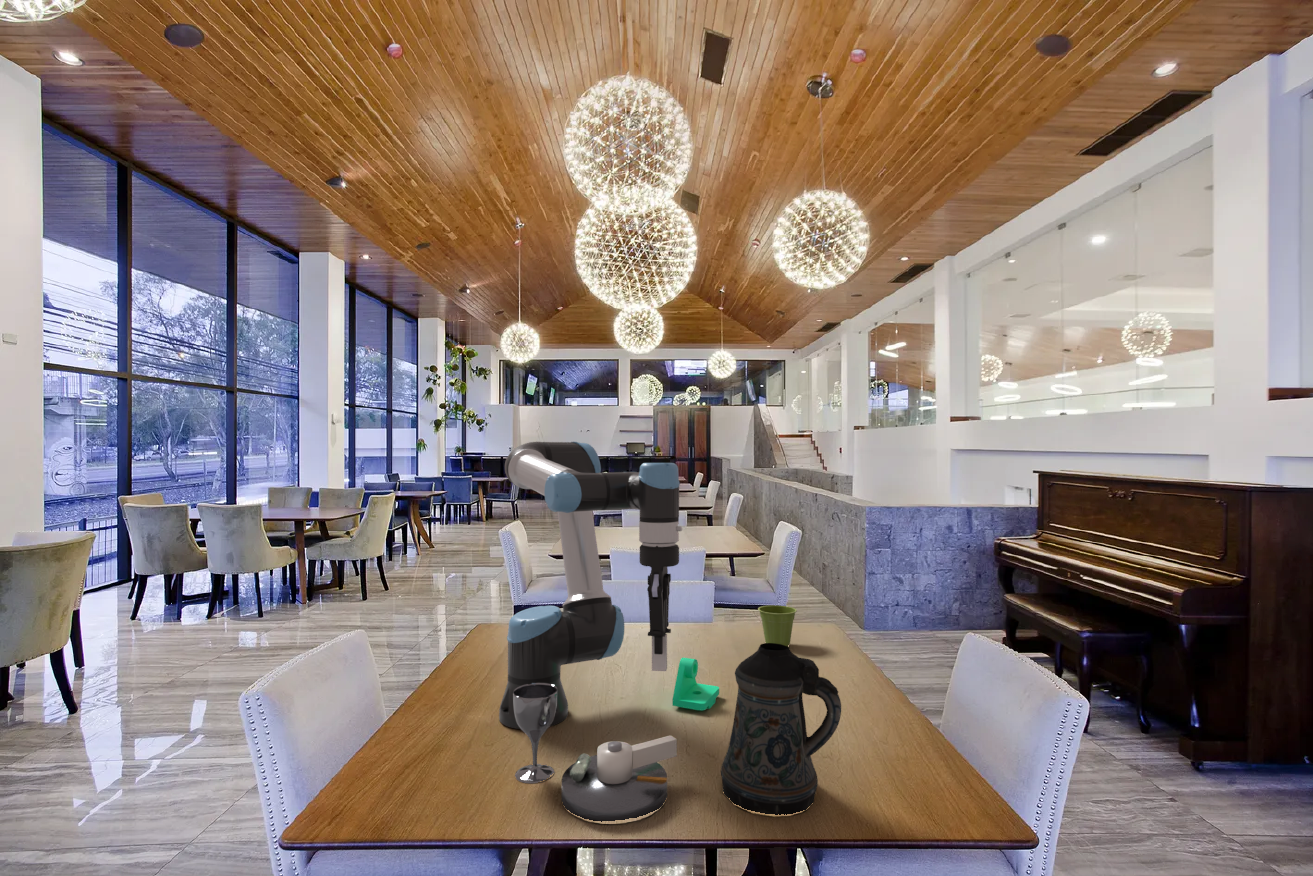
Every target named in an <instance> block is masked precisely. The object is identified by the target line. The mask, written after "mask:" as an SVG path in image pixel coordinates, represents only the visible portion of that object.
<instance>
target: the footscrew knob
mask: <svg viewBox="0 0 1313 876" xmlns="http://www.w3.org/2000/svg"><path fill="white" fill-rule="evenodd" d="M677 740H678V739H677V738H675V737H674V736H672V735H667V736H663V737H660V738H654V739H651V740H648V741H644V742H639V743H636V744H633V745H631V744H630V743H627V742H625V741H618V740H617V741H616V740H615V741H614V740H613V741H607V742H606V741H605V742H604V743H602V744H600V745H598V747H597V750H596V751H597V754H596V755H597V778H598V779H599V780H600V781H602V782H604V783H608V784H619V783H624V782H626V781H628V780H629V779H631V777H632V769H634V768H638V767H641V766H645V765H648V764H652V763H655V762H658V763H659V762H662V761H665V760H669V759H672V758H676V757H678V755H677V754H678V753H677V751H678V750H677V749H678V747H677V745H678V744H677V743H678V742H677Z"/></svg>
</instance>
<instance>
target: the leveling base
mask: <svg viewBox="0 0 1313 876" xmlns="http://www.w3.org/2000/svg"><path fill="white" fill-rule="evenodd" d="M666 798H667V799H668V774H667V771H666V769H665V768H664V766H663V765H662V764H660V763H659V762H655V763H652V764H648V765H645V766H641V767H638V768H634V769H632V777H631V779H629V780H628V781H626V782H624V783H619V784H608V783H604V782H602V781H600V780H599V779H598V778H597V754H595V755H594V754H593V755H589V754H587V753H581V754H580V755H579V756H578V757H577V759H576V761H575V762H574V763H572V764H571V765H570V766H569V767H568V768H566V770H565V771H564V772H563V774H562V776H561V803H562V802H563V804H562V806H563V805H564V806H565V808H566V809H567V810H569V811H570V812H571V813H573V814H575V815H577V816H580V817H582V818H584V819H589V820H593V821H601V822H602V821H615V820H625V819H629V818H637V817H639V816H643V815H646V814H648V813H650V812H653V811H655V810H657V809H659V808H660V807H661V806H662V805H663V803H664V802H665V800H666ZM666 801H667V800H666ZM665 803H666V802H665ZM564 806H563V807H564ZM565 808H564V809H565ZM566 809H565V810H566ZM567 810H566V811H567Z"/></svg>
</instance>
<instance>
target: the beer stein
mask: <svg viewBox="0 0 1313 876" xmlns="http://www.w3.org/2000/svg"><path fill="white" fill-rule="evenodd" d="M734 677H735V681H736V684H737V687H738V688H737V696H736V701H735V709H734V716H733V723H732V724H733V725H732V729H731V734H730V739H729V744H728V748H727V751H726V754H725V757H724V758H723V760H722V763H721V767H720V774H721V781H722V793H723V792H724V794H725V795H726V796H727V797H728V798H730V800H731V801H732V802H733V803H734V804H736V805H739V806H741V807H742V808H744V809H747V810H751V811H755V812H760V813H765V814H775V815H778V814H779V815H781V814H784V815H785V814H786V815H787V814H793V813H796V812H800V811H803V810H806V809H807V808H808V807H809V806H810V805H811V804H812V803H813V802H814V803H815V796H816V793H817V789H818V784H819V782H818V778H819V777H818V774H817V771H816V768H815V766H814V764H813V760H812V755H813V754H815V753H816V752H818V751H819V750H820V749H821V748H822V747H823V746H824V745H825V744H827V742H828V741H829V740H831V738H832V737H833V735H834V733H835V732H836V730H837V728H838V726H839V723H840V720H841V716H842V701H841V698H840V695H839V691H838V688H837V687H836V686H835V685H834V684H833V683H832V682H831V681H830V680H829V679H827V678H825V677H821V676H820V669H819V667H818V666H817V664H816V663H815V661H814V660H811V659H809V658H805V657H798V656H797V655H796V654H794V652H792V651H791V649H790V647H788V646H785V645H781V644H776V643H765V642H763V643H761V644H760V645H759V647H758V649H757V650H756V651H755V652H754V653H753V654H751V655H749V656H748V657H747V658H745V659H744V660H743V661H741V662H740V663H739V664H738V666H737V667H736V669H735V671H734ZM803 694H805V695H806V696H815V697H816V696H817V697H819V698H820V699H821V700H822V701H823V702H824V705H825V707H826V714H825V717H824V718H823V721H822V722H821V724H820V726H819V727H818V728H817V729H816V730H815V731H814V732H813V733H812V734H811V735H810V736H808V731H807V724H806V716H805V715H806V714H805V710H804V709H805V708H804V701H803ZM724 794H723V795H724ZM725 795H724V796H725ZM726 796H725V797H726ZM727 797H726V798H727ZM728 798H727V799H728ZM730 800H729V801H730ZM814 803H813V804H814ZM813 804H812V805H813ZM812 805H811V806H812ZM811 806H810V807H811ZM810 807H809V808H810ZM809 808H808V809H809ZM808 809H807V810H808ZM807 810H806V811H807Z"/></svg>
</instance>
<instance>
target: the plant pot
mask: <svg viewBox="0 0 1313 876" xmlns="http://www.w3.org/2000/svg"><path fill="white" fill-rule="evenodd" d="M757 610H758V611H759V615H760V619H761V623H762V629H763V630H762V631H763V635H764V641H765V642H766V643H776V644H781V645H785V646H788V645H789V644H790V645H791V639H792V633H793V632H792V631H793V625H794V620H795V616H796V613H797V612H798V611H797V608H795V607H792V606H787V605H776V604H775V605H771V604H770V605H762V606H759V607H758V608H757ZM765 642H764V643H765Z"/></svg>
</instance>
